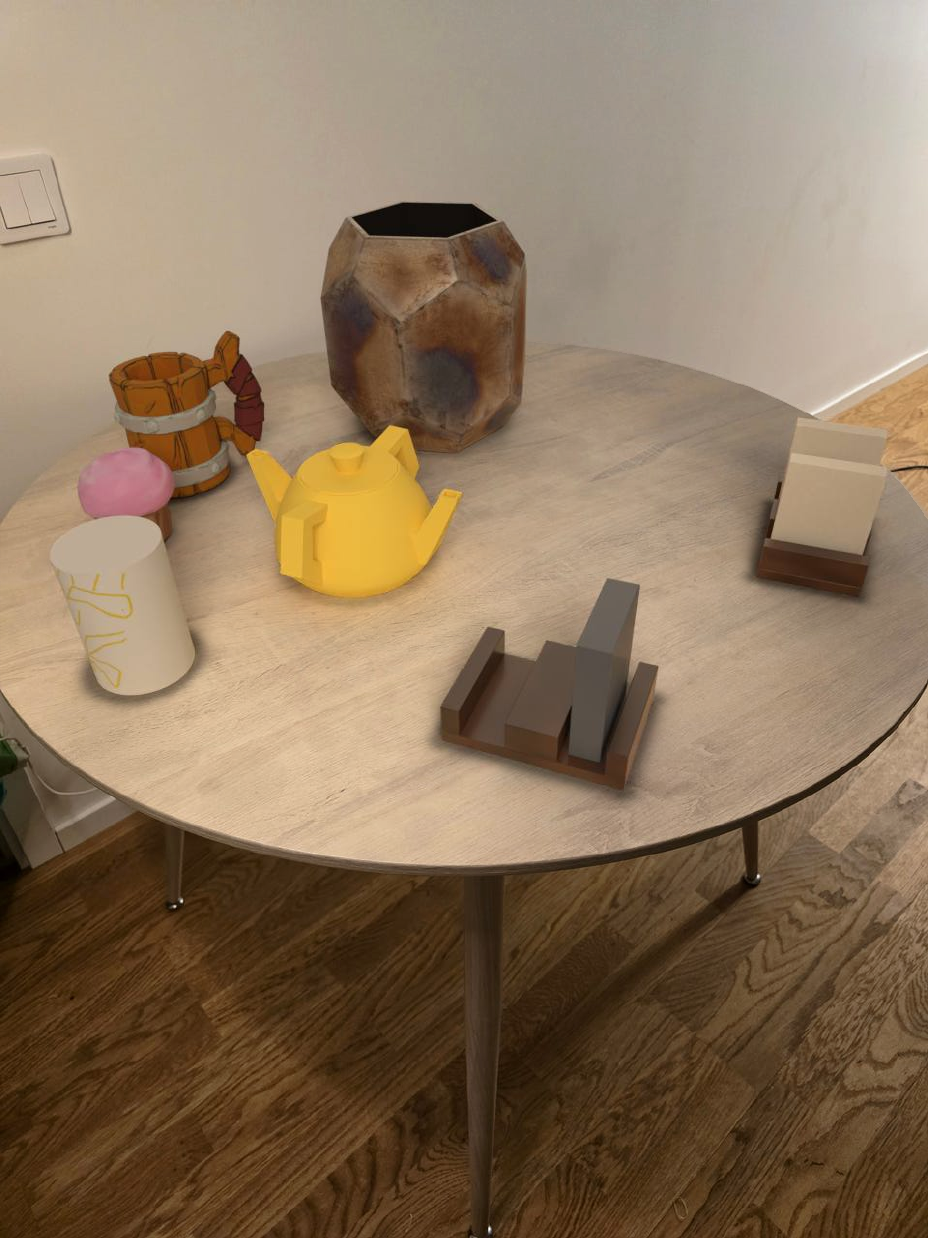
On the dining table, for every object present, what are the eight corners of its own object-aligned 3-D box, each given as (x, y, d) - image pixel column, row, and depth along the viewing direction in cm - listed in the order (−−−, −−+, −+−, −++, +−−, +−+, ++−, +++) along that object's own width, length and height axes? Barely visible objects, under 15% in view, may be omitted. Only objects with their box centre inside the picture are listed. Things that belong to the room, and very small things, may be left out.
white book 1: (776, 507, 88) (797, 416, 82) (859, 521, 86) (888, 429, 80) (774, 516, 87) (796, 424, 81) (859, 530, 85) (888, 437, 78)
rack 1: (653, 698, 68) (658, 665, 66) (623, 790, 61) (628, 757, 59) (487, 658, 73) (487, 626, 70) (441, 740, 65) (439, 706, 63)
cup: (74, 673, 72) (26, 554, 65) (149, 621, 77) (112, 505, 70) (142, 708, 69) (99, 586, 61) (215, 651, 74) (183, 532, 67)
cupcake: (199, 521, 91) (177, 434, 84) (172, 569, 84) (146, 478, 78) (116, 519, 91) (89, 433, 85) (83, 567, 84) (50, 477, 78)
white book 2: (857, 562, 80) (888, 466, 74) (856, 572, 79) (887, 476, 73) (768, 546, 83) (791, 452, 77) (766, 556, 82) (789, 461, 75)
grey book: (626, 691, 68) (640, 584, 61) (600, 763, 62) (612, 653, 55) (596, 684, 68) (607, 577, 62) (567, 754, 62) (576, 645, 56)
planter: (559, 443, 102) (569, 231, 88) (359, 481, 96) (335, 260, 82) (493, 374, 119) (492, 186, 104) (319, 403, 113) (292, 207, 98)
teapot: (416, 501, 93) (409, 396, 85) (470, 587, 80) (468, 473, 73) (260, 533, 88) (238, 426, 81) (292, 629, 76) (270, 513, 69)
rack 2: (864, 519, 88) (873, 489, 86) (858, 597, 78) (869, 565, 76) (772, 504, 91) (779, 474, 89) (756, 577, 81) (763, 546, 79)
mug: (122, 469, 100) (83, 342, 91) (258, 435, 106) (235, 312, 97) (144, 511, 92) (105, 377, 83) (289, 471, 99) (267, 342, 89)
